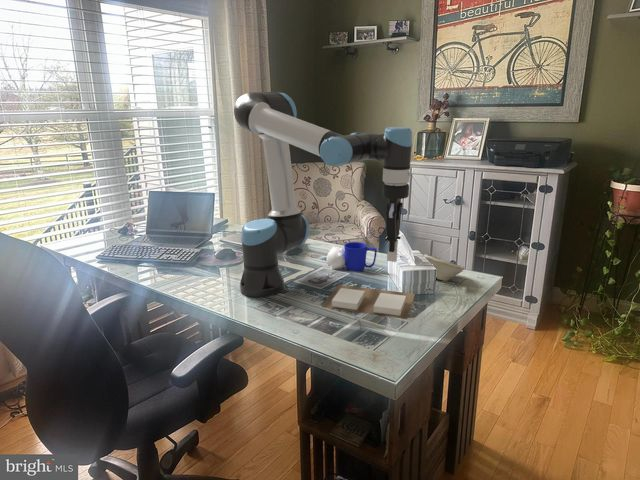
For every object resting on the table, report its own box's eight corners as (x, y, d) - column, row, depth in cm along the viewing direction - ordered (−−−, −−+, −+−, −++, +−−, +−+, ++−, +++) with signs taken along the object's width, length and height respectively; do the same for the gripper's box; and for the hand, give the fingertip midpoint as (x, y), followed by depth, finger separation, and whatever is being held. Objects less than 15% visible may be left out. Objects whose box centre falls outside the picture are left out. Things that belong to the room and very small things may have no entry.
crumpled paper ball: (334, 239, 176) (334, 247, 164) (356, 252, 177) (358, 262, 165) (322, 257, 178) (321, 266, 166) (345, 270, 179) (345, 281, 168)
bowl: (472, 282, 156) (474, 255, 153) (443, 291, 149) (445, 262, 146) (440, 269, 169) (442, 244, 166) (412, 277, 162) (413, 250, 159)
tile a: (341, 294, 146) (331, 306, 137) (341, 287, 145) (331, 300, 136) (364, 297, 143) (357, 310, 134) (365, 290, 142) (357, 303, 133)
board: (321, 310, 137) (321, 306, 137) (338, 287, 153) (338, 284, 153) (406, 322, 129) (406, 318, 128) (415, 297, 145) (415, 293, 145)
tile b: (380, 299, 141) (373, 312, 132) (380, 292, 141) (373, 306, 132) (405, 302, 139) (400, 316, 130) (406, 295, 138) (400, 309, 129)
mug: (375, 275, 164) (375, 249, 161) (342, 273, 166) (342, 248, 163) (377, 267, 171) (377, 242, 168) (346, 266, 174) (346, 241, 171)
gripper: (405, 188, 120) (400, 269, 128) (412, 180, 132) (407, 255, 139) (378, 186, 123) (374, 266, 130) (387, 178, 134) (383, 252, 142)
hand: (391, 260), depth 135 cm, fingers closed
